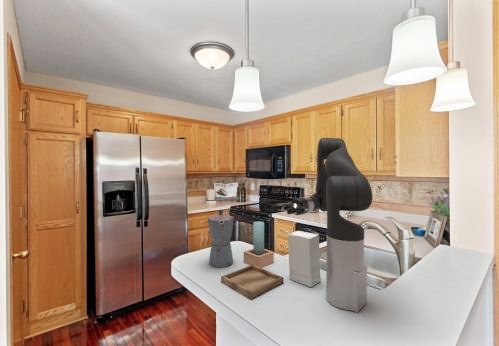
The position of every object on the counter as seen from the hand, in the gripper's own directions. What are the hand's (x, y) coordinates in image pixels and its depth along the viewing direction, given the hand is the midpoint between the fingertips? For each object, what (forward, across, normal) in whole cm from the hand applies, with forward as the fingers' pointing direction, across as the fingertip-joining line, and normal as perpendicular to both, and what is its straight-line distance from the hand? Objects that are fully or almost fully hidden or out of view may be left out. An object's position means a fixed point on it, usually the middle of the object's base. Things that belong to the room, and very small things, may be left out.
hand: (279, 210), depth 97 cm
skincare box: (+12, +20, +18) cm, 30 cm away
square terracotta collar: (+12, 0, +18) cm, 22 cm away
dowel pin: (+12, 0, +18) cm, 22 cm away
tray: (+26, +10, +18) cm, 33 cm away
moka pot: (+23, -9, +18) cm, 31 cm away
